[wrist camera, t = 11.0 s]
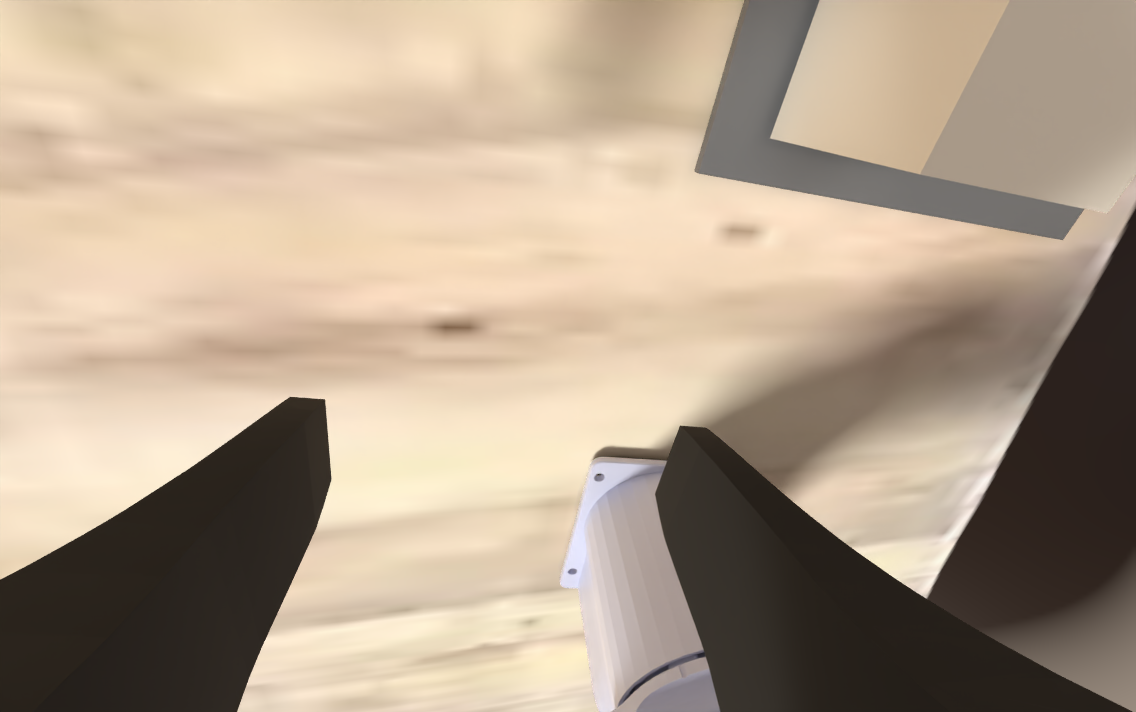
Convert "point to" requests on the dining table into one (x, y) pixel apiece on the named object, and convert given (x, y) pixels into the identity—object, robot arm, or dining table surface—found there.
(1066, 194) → the beige block
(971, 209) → the base board
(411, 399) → the dining table surface
